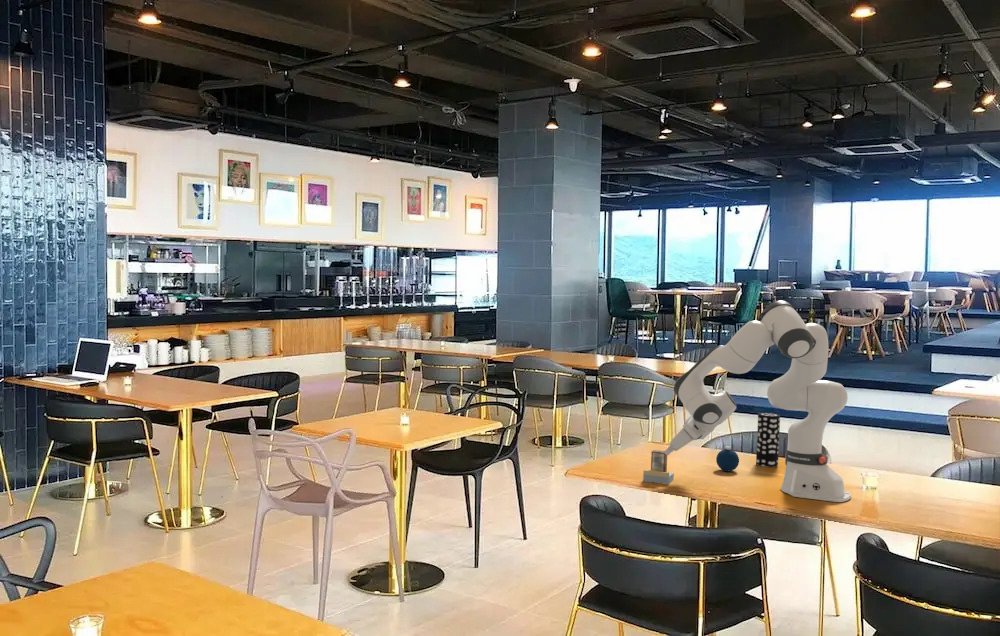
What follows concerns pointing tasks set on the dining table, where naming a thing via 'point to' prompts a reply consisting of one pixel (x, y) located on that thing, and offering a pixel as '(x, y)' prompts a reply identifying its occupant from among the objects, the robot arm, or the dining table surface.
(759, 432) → the spotted tube
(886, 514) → the dining table surface
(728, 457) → the christmas ornament
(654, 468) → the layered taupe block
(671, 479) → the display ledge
